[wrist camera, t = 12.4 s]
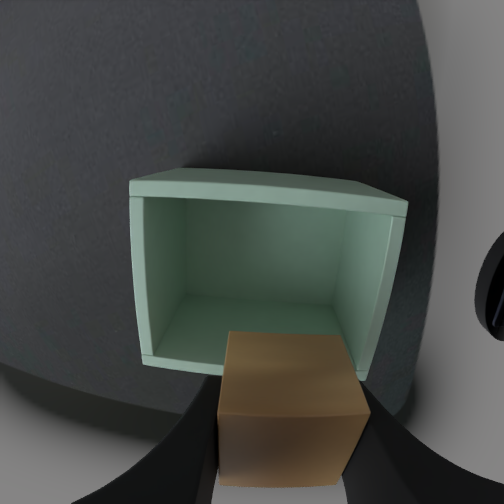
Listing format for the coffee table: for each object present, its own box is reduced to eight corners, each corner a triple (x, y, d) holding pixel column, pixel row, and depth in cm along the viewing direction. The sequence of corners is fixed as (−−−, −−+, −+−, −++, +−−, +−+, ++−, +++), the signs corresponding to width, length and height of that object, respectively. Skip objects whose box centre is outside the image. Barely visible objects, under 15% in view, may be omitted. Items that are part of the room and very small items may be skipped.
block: (341, 334, 11) (371, 413, 7) (321, 410, 12) (336, 485, 8) (229, 329, 11) (217, 412, 7) (227, 407, 12) (219, 485, 8)
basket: (179, 167, 17) (128, 179, 10) (357, 181, 17) (409, 201, 10) (180, 319, 20) (146, 390, 13) (333, 330, 20) (356, 405, 13)
